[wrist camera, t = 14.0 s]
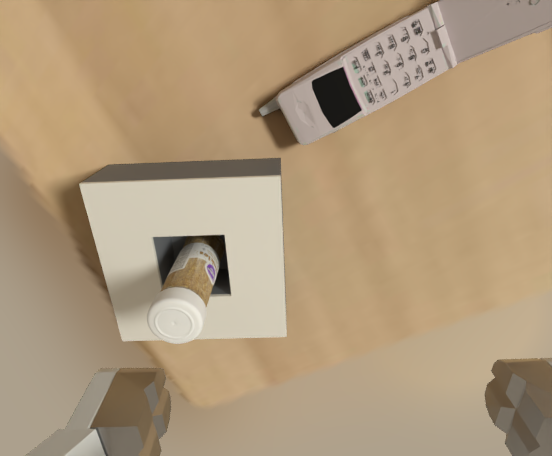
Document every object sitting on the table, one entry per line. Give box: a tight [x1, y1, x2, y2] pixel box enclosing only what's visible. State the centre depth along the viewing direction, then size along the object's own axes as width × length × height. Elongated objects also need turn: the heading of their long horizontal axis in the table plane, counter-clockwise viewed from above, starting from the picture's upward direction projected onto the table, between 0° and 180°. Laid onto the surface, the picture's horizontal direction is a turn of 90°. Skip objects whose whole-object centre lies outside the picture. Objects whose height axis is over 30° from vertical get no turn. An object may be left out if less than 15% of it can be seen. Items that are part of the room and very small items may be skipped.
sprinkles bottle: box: [147, 235, 225, 344], centre depth 36 cm, size 5×5×14 cm
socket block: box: [79, 158, 287, 341], centre depth 40 cm, size 18×18×6 cm
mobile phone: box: [259, 0, 552, 145], centre depth 32 cm, size 6×6×25 cm
